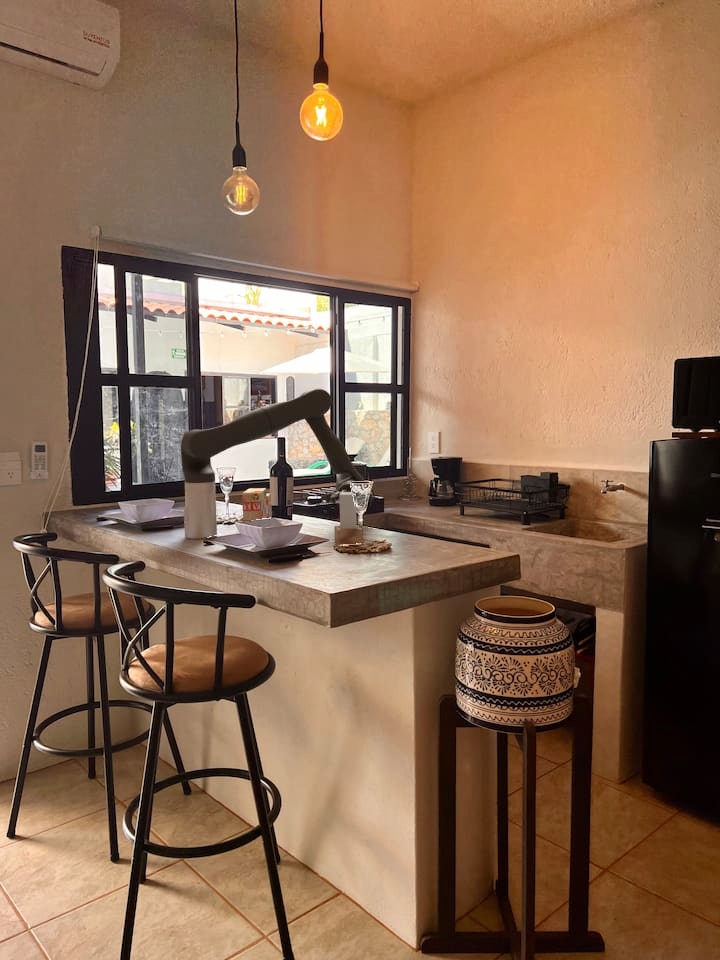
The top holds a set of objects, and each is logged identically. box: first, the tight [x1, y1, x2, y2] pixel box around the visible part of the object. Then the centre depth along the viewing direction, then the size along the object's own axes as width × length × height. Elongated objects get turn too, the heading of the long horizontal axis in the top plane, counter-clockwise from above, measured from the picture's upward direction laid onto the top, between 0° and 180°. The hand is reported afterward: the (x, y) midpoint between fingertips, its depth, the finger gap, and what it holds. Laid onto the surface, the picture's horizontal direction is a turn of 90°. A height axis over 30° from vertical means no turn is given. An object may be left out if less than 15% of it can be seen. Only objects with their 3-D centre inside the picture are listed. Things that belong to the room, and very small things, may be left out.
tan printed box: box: [241, 487, 272, 523], centre depth 237 cm, size 21×6×12 cm, turn 179°
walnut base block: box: [334, 524, 363, 545], centre depth 200 cm, size 7×7×5 cm
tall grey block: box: [339, 492, 357, 529], centre depth 199 cm, size 4×4×10 cm
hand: (348, 500), depth 204 cm, fingers open, 8 cm apart
